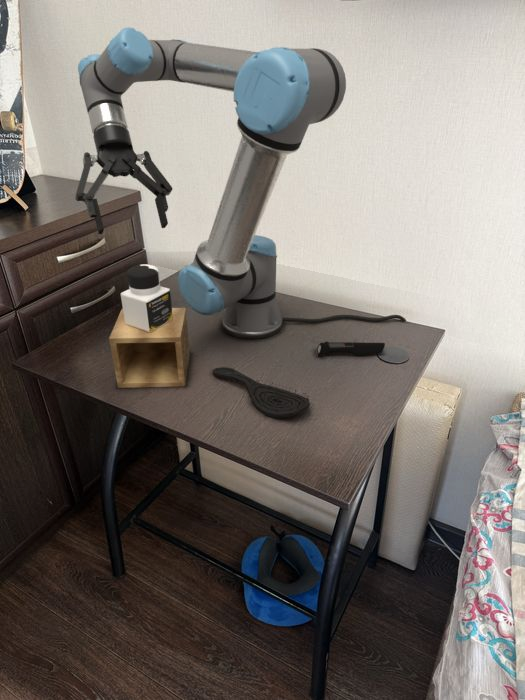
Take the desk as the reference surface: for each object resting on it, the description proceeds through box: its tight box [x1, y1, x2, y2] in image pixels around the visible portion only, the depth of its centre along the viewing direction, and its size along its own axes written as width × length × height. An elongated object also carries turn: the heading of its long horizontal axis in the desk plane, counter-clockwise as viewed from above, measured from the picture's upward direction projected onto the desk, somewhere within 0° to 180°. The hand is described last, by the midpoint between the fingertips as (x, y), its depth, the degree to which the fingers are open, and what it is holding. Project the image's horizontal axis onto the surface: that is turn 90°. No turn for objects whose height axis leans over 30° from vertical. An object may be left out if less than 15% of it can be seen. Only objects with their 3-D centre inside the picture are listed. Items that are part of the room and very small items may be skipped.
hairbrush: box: [212, 366, 311, 419], centre depth 102 cm, size 8×4×25 cm
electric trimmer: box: [316, 340, 386, 358], centre depth 116 cm, size 4×16×3 cm, turn 91°
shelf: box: [108, 307, 191, 389], centre depth 107 cm, size 14×13×12 cm
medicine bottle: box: [120, 263, 173, 332], centre depth 101 cm, size 7×7×12 cm
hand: (134, 228), depth 105 cm, fingers open, 13 cm apart
